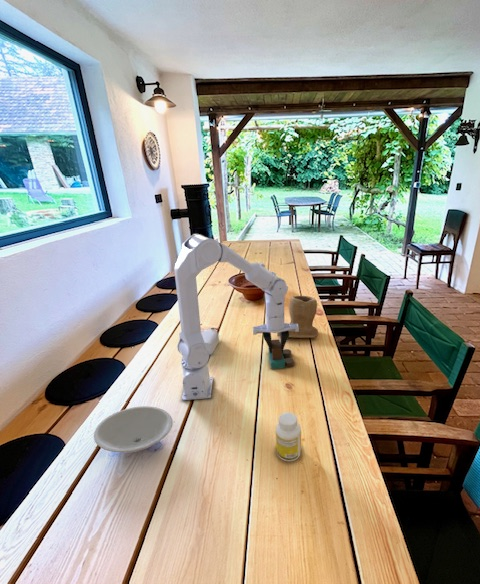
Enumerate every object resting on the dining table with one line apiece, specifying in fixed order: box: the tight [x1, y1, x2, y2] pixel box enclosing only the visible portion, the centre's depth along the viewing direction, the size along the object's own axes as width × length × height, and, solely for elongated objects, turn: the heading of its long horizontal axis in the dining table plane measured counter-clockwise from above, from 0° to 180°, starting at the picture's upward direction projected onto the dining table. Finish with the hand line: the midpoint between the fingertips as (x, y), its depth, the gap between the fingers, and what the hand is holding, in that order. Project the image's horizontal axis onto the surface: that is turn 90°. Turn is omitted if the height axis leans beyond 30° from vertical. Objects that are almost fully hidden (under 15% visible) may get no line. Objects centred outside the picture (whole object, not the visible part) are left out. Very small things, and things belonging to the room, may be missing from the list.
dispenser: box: [201, 328, 220, 356], centre depth 118 cm, size 5×9×15 cm
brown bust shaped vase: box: [276, 295, 319, 339], centre depth 121 cm, size 15×12×15 cm
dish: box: [93, 405, 173, 454], centre depth 75 cm, size 18×14×5 cm
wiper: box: [267, 338, 286, 370], centre depth 106 cm, size 10×4×6 cm, turn 5°
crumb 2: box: [284, 357, 295, 368], centre depth 105 cm, size 3×3×2 cm
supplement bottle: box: [275, 411, 302, 462], centre depth 70 cm, size 5×5×10 cm
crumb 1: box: [283, 348, 292, 359], centre depth 110 cm, size 3×3×2 cm
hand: (276, 351), depth 106 cm, fingers closed on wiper, 3 cm apart
